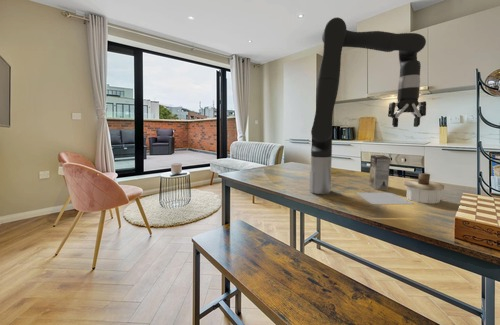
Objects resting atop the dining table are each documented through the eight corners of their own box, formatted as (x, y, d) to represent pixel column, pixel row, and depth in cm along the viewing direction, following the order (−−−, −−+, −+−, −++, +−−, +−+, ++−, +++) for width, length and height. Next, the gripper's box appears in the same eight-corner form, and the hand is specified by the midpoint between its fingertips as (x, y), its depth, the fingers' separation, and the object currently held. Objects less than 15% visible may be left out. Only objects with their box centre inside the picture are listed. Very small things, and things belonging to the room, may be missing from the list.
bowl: (417, 204, 91) (418, 189, 90) (400, 196, 101) (401, 183, 101) (446, 204, 90) (448, 189, 89) (426, 196, 101) (427, 182, 100)
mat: (372, 205, 91) (372, 204, 91) (355, 193, 107) (355, 192, 107) (414, 205, 90) (414, 203, 90) (391, 193, 106) (391, 192, 106)
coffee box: (368, 185, 121) (370, 155, 119) (381, 185, 120) (383, 155, 117) (374, 190, 112) (376, 157, 110) (388, 190, 111) (390, 157, 108)
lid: (417, 190, 89) (418, 177, 88) (397, 182, 101) (398, 171, 101) (452, 190, 88) (454, 177, 87) (428, 182, 101) (429, 170, 100)
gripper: (396, 86, 94) (393, 127, 96) (432, 85, 93) (429, 126, 95) (386, 89, 101) (384, 127, 103) (420, 88, 100) (417, 126, 103)
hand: (405, 126), depth 99 cm, fingers open, 8 cm apart
